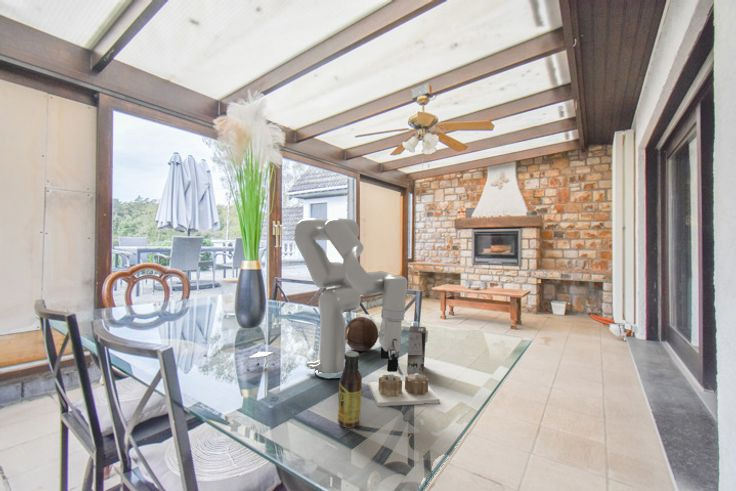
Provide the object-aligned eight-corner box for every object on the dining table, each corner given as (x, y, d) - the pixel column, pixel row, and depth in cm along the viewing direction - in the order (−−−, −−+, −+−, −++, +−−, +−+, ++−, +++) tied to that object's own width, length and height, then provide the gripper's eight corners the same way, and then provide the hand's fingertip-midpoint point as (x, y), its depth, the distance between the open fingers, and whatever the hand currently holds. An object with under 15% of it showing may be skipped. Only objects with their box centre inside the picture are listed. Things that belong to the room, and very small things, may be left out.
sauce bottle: (337, 416, 98) (340, 348, 97) (359, 416, 99) (362, 348, 98) (337, 430, 92) (340, 357, 91) (360, 429, 92) (363, 357, 91)
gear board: (377, 406, 105) (378, 385, 105) (369, 385, 119) (369, 366, 118) (439, 402, 109) (440, 382, 108) (423, 383, 122) (424, 364, 122)
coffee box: (423, 375, 129) (425, 333, 129) (406, 373, 131) (408, 331, 130) (424, 366, 138) (426, 326, 138) (408, 364, 140) (410, 325, 139)
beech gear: (381, 397, 108) (382, 384, 108) (376, 387, 115) (377, 374, 115) (404, 396, 109) (404, 383, 109) (397, 386, 117) (398, 373, 117)
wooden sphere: (376, 345, 161) (377, 313, 161) (378, 356, 146) (380, 322, 146) (344, 344, 161) (345, 312, 160) (343, 356, 146) (344, 321, 145)
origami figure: (264, 359, 138) (264, 347, 138) (278, 365, 134) (278, 352, 133) (238, 369, 128) (238, 356, 128) (252, 375, 124) (253, 361, 123)
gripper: (376, 306, 119) (371, 354, 120) (388, 321, 102) (383, 376, 103) (396, 307, 121) (392, 354, 122) (412, 322, 104) (406, 376, 105)
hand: (388, 364), depth 113 cm, fingers open, 9 cm apart
